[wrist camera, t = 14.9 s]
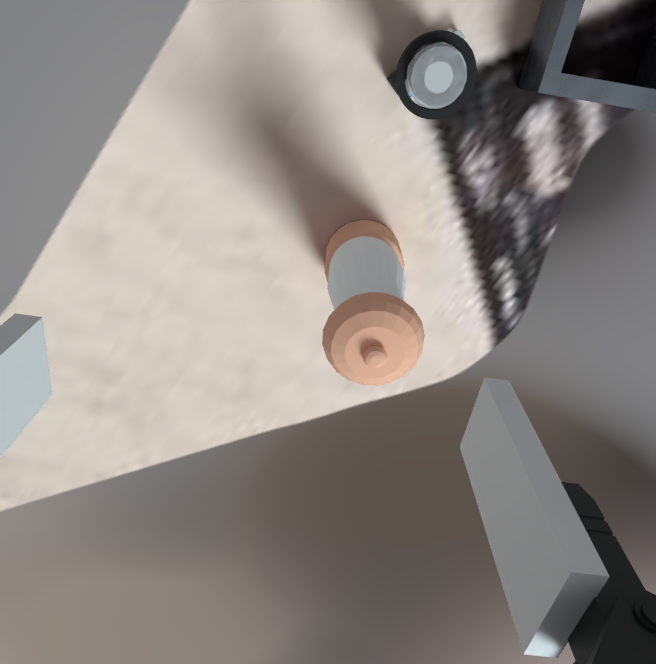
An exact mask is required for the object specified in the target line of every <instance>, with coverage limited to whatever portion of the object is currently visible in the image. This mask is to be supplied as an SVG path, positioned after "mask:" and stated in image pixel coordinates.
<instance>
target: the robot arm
mask: <svg viewBox="0 0 656 664" xmlns="http://www.w3.org/2000/svg"><path fill="white" fill-rule="evenodd" d="M51 396H52V387H51V379H50V372H49V364H48V356H47V349H46V341H45V334H44V326H43V318H42V317H37V316H30V315H22V314H14V315H13V316H12V317H10V318H9V319H8V320H7V321H5V322H4V323H3V324H2V325H1V326H0V458H1V457H2V455H3V454H4V453H5V452H6V450H7V449H8V448H9V447H10V446H11V444H12V443H13V442H14V441H15V440H16V438H17V437H18V436H19V435H20V433H21V432H22V431H23V430H24V429H25V427H26V426H27V425H28V424H29V422H30V421H31V420H32V419H33V418H34V416H35V415H36V414H37V413H38V411H39V410H40V409H41V408H42V407H43V405H44V404H45V403H46V402H47V401H48V399H49V398H50V397H51ZM460 448H461V452H462V455H463V458H464V461H465V465H466V468H467V471H468V475H469V478H470V481H471V484H472V488H473V491H474V494H475V498H476V501H477V504H478V507H479V511H480V514H481V517H482V520H483V524H484V527H485V530H486V533H487V536H488V540H489V543H490V546H491V550H492V553H493V556H494V559H495V563H496V566H497V569H498V572H499V575H500V579H501V582H502V585H503V589H504V592H505V595H506V598H507V602H508V605H509V608H510V612H511V615H512V618H513V621H514V625H515V628H516V631H517V634H518V638H519V641H520V644H521V647H522V651H523V654H526V655H536V656H545V657H556V658H558V657H559V655H560V653H561V652H562V650H563V649H564V647H565V646H566V644H567V643H568V642H569V644H570V647H571V650H572V652H573V655H574V657H575V660H576V661H575V662H574V664H656V595H654V594H652V593H650V592H648V591H646V590H645V588H644V587H643V585H642V583H641V581H640V579H639V578H638V576H637V574H636V573H635V571H634V569H633V567H632V565H631V564H630V562H629V560H628V558H627V557H626V555H625V553H624V551H623V550H622V548H621V546H620V544H619V542H618V541H617V539H616V537H615V536H613V532H612V530H611V529H610V527H609V525H608V523H607V522H605V521H604V516H603V514H602V513H601V511H600V509H599V507H598V506H597V504H596V502H595V500H594V499H593V498H591V496H589V494H587V492H586V491H585V490H584V489H583V488H582V487H581V486H580V485H579V484H574V483H566V482H561V481H560V479H559V477H558V475H557V473H556V472H555V469H554V467H553V465H552V464H551V462H550V460H549V458H548V456H547V454H546V452H545V450H544V448H543V446H542V444H541V442H540V440H539V438H538V436H537V434H536V433H535V431H534V429H533V427H532V425H531V423H530V421H529V419H528V417H527V415H526V413H525V411H524V409H523V407H522V405H521V403H520V401H519V399H518V398H517V396H516V394H515V392H514V390H513V388H512V386H511V384H510V382H509V381H506V380H498V379H490V378H484V380H483V383H482V386H481V389H480V392H479V395H478V397H477V400H476V403H475V406H474V409H473V411H472V414H471V417H470V420H469V423H468V425H467V428H466V431H465V434H464V437H463V439H462V442H461V445H460Z"/></svg>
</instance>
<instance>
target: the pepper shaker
mask: <svg viewBox="0 0 656 664" xmlns="http://www.w3.org/2000/svg"><path fill="white" fill-rule="evenodd" d="M325 275H326V278H327V282H328V292H329V295H330V299H331V302H332V304H333V307H334V311H333V312H332V314H331V315H330V316H329V317H328V320H327V322H326V324H325V327H324V329H323V341H322V344H323V347H324V350H325V354H326V357H327V359H328V361H329V362H330V364H331V365H332V366H333V368H334V369H335V370H336V372H338V373H339V374H340V375H342V376H343V377H345V378H346V379H348V380H350V381H353V382H356V383H359V384H362V385H376V386H377V385H382V384H387V383H390V382H392V381H394V380H396V379H398V378H400V377H402V376H404V375H405V374H406V373H407V372H408V371H410V370H411V369H412V368H413V367H414V366H415V364H416V362H417V360H418V359H419V357H420V355H421V352H422V347H423V341H424V330H423V325H422V321H421V320H420V318H419V316H418V315H417V313H416V312H415V310H414V309H413V308H412V307H411V306H409V305H408V304H407V303H406V302H404V293H405V283H406V281H405V277H404V261H403V257H402V252H401V249H400V246H399V243H398V241H397V239H396V238H395V236H394V234H393V233H392V232H391V231H390V230H389V229H388V228H387V227H385V226H384V225H382V224H380V223H377V222H375V221H372V220H357V221H353V222H350V223H347V224H346V225H344V226H342V227H341V228H339V229H338V230H337V231H336V232H335V233H334V235H333V236H332V237H331V238H330V240H329V243H328V245H327V248H326V260H325Z"/></svg>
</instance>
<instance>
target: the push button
mask: <svg viewBox="0 0 656 664" xmlns="http://www.w3.org/2000/svg"><path fill="white" fill-rule="evenodd" d="M464 38H465V36H464V35H463V33H462V32H461V30H456V31H455V32H453V33H452V32H449V31H443V30H438V31H431V32H428V33H425V34H423V35H421V36H419V37H418V38H416V39H415V40H414V41H412V42H411V43H410V44H409V45H408V47H407V48H406V49H405V51H404V52H403V54H402V56H401V58H400V60H399V63H398V66H397V70H396V71H394V72H393V73H392V74H391V75H390V76H389V77H388V78H387V80H388V82H389V83H390V84H391V86H392V87H393V89H394V90H395V92H396V93H397V94H398V96H399V97H400V99H401V101H402V103H403V104H404V106H405V107H406V108H407V109H408V110H409V111H410V112H412V113H413V114H415V115H417V116H419V117H421V118H425V119H440V118H444V117H447V116H449V115H451V114H453V113H454V112H456V111H457V110H458V109H459V108H461V107H462V106H463V105H464V103H465V102H466V101H467V99H468V98H469V96H470V94H471V93H472V90H473V88H474V85H475V81H476V73H477V68H476V60H475V57H474V54H473V51H472V50H471V48H470V46H469V45H468V43H467V42H466V41H465V40H464ZM427 43H428V44H427ZM425 44H427V45H426V46H425V47H424V48H423V49H422V50H419V51H417V50H418V49H419V48H420V47H422V46H423V45H425ZM411 96H412V97H413V98H414V99H415V101H416V102H417V103H418V104H420V105H422V106H424V107H421V106H419V105H417V104H415V103H414V102H413V101H412V99H411V98H410V97H411ZM425 107H426V108H425Z"/></svg>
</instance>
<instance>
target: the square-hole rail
mask: <svg viewBox="0 0 656 664" xmlns="http://www.w3.org/2000/svg"><path fill="white" fill-rule="evenodd" d="M584 1H585V0H543V4H542V7H541V10H540V14H539V17H538V21H537V24H536V27H535V31H534V34H533V37H532V41H531V44H530V48H529V51H528V54H527V58H526V61H525V64H524V68H523V71H522V74H521V78H520V81H519V85H518V88H520V89H525V90H529V91H534V92H538V93H544V94H550V95H556V96H562V97H568V98H573V99H579V100H585V101H591V102H597V103H603V104H609V105H614V106H620V107H626V108H632V109H638V110H644V111H650V112H656V24H655V27H654V30H653V32H652V35H651V37H650V40H649V42H648V45H647V47H646V50H645V53H644V55H643V58H642V60H641V63H640V65H639V68H638V70H637V73H636V75H635V78H634V81H633V83H632V85H628V84H622V83H616V82H610V81H605V80H599V79H593V78H587V77H582V76H576V75H570V74H564V73H561V71H562V68H563V65H564V62H565V59H566V56H567V53H568V50H569V47H570V44H571V40H572V37H573V34H574V31H575V28H576V25H577V22H578V19H579V16H580V13H581V10H582V7H583V4H584Z"/></svg>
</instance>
